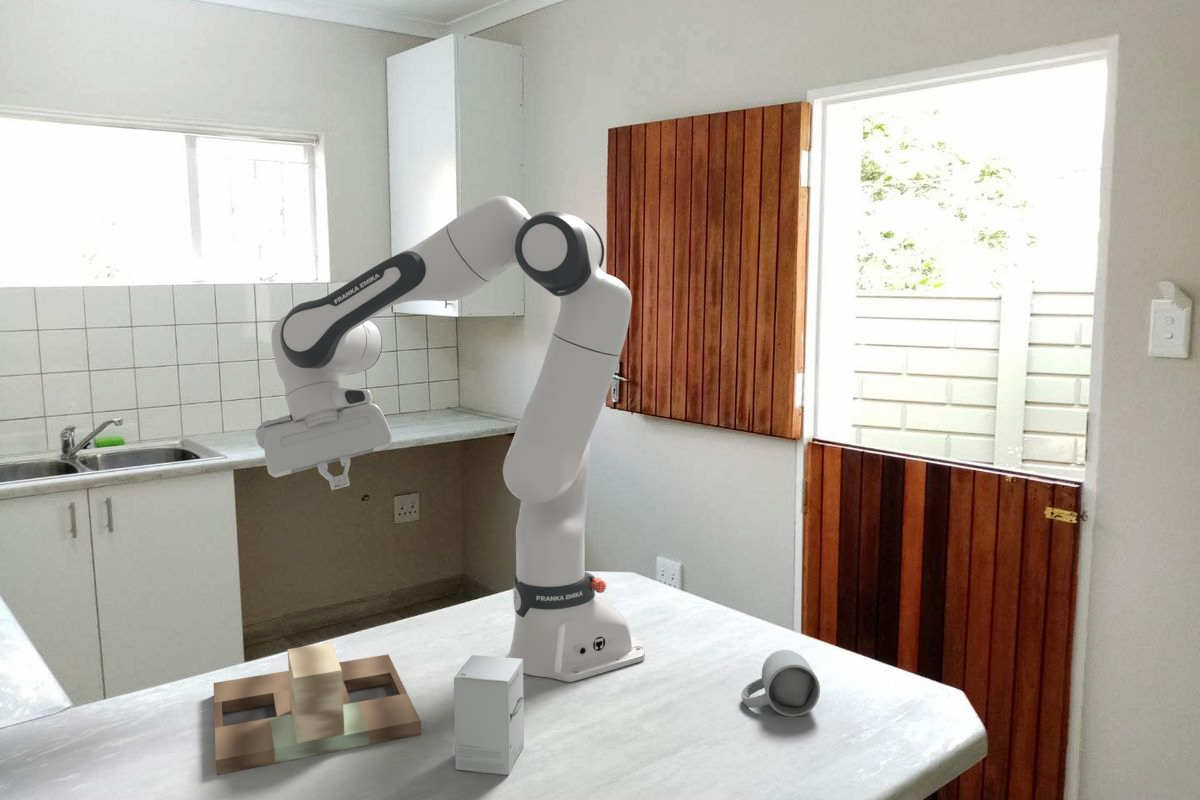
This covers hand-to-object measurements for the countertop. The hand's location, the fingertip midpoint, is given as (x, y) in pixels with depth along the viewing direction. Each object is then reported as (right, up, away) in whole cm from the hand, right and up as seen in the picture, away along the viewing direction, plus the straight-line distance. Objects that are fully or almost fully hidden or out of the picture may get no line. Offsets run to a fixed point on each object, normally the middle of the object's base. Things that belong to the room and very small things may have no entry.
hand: (341, 487), depth 150 cm
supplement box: (+28, -33, -29) cm, 52 cm away
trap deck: (+1, -31, -17) cm, 35 cm away
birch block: (+3, -30, -24) cm, 38 cm away
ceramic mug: (+68, -31, -15) cm, 76 cm away
